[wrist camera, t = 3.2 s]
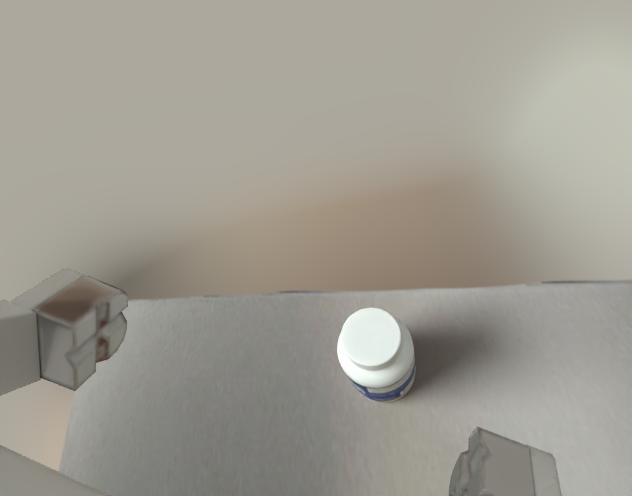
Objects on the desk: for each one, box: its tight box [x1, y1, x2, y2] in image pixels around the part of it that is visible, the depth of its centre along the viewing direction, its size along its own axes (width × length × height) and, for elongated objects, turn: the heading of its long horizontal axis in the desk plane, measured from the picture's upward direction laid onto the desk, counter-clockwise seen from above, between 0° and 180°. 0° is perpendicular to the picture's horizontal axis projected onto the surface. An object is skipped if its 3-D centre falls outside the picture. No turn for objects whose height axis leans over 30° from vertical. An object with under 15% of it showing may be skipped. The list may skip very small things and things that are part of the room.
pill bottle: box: [337, 308, 416, 403], centre depth 37 cm, size 5×5×10 cm
